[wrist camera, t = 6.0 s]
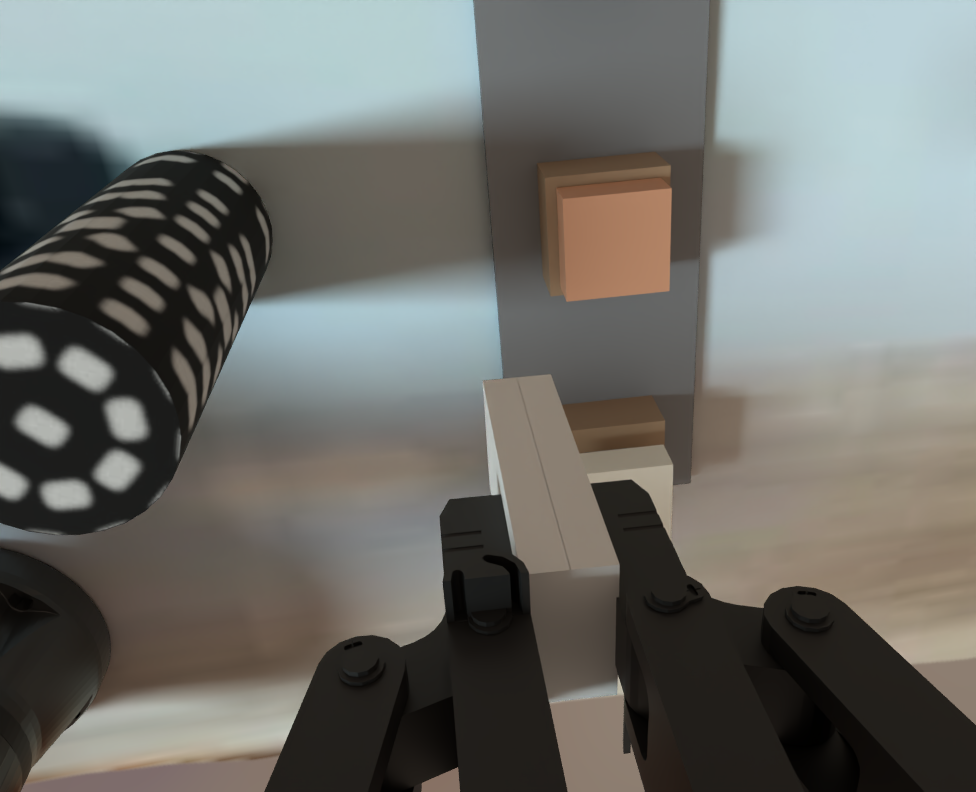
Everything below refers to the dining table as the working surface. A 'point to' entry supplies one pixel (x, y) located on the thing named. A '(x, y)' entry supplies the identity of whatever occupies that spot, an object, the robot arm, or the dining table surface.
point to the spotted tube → (121, 339)
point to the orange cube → (614, 238)
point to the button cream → (637, 473)
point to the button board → (593, 160)
